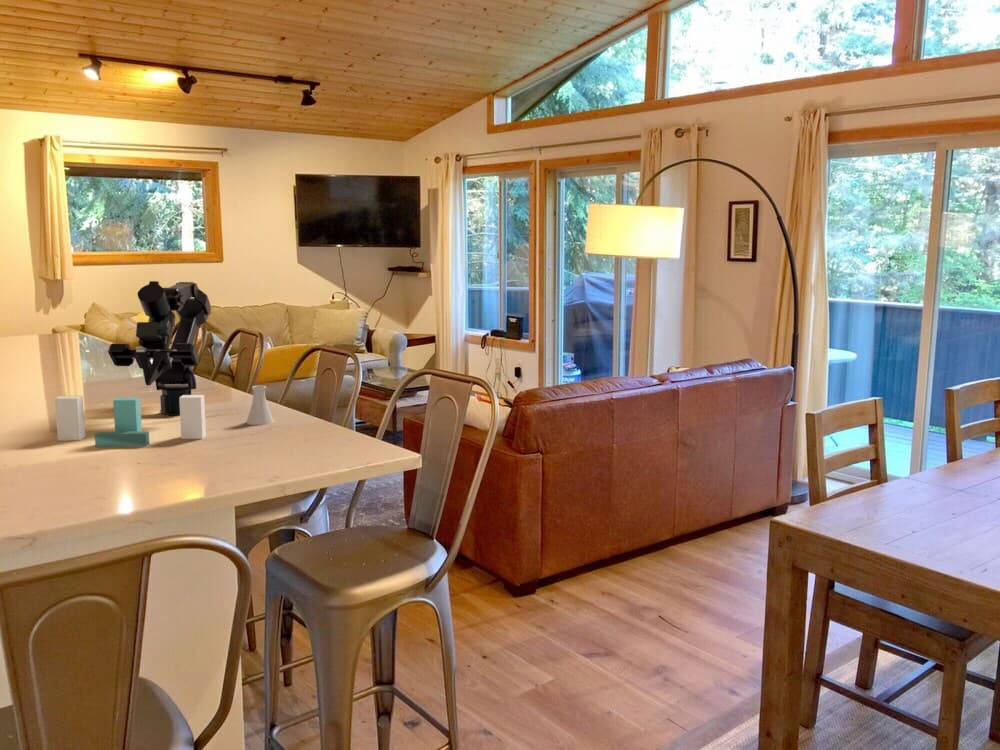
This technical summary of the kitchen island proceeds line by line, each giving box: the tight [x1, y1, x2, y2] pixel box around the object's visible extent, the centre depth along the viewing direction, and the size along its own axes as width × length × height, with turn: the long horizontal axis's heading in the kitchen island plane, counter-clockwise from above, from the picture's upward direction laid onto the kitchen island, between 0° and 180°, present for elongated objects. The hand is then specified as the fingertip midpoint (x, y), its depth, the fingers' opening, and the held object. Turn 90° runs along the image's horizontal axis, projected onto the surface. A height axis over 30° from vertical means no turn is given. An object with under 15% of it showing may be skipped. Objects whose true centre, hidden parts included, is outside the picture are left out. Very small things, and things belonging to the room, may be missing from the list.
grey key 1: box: [54, 395, 86, 442], centre depth 172 cm, size 3×4×9 cm
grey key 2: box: [179, 394, 207, 440], centre depth 175 cm, size 3×4×9 cm
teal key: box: [112, 397, 143, 432], centre depth 171 cm, size 3×4×9 cm
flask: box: [246, 385, 275, 426], centre depth 191 cm, size 7×7×10 cm
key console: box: [94, 430, 150, 448], centre depth 171 cm, size 12×31×4 cm, turn 96°
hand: (147, 384), depth 184 cm, fingers closed
